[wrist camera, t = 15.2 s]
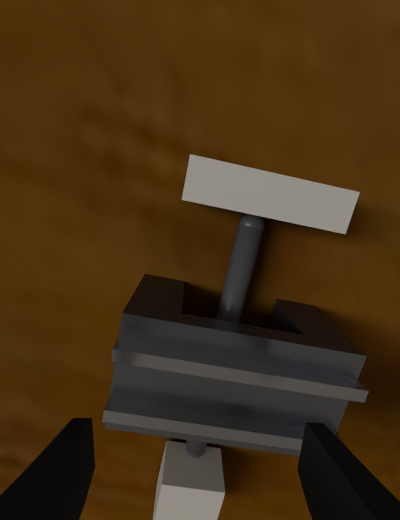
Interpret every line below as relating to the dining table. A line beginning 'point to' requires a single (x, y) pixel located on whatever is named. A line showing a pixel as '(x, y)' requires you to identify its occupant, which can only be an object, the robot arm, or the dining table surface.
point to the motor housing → (229, 373)
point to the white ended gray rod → (238, 300)
